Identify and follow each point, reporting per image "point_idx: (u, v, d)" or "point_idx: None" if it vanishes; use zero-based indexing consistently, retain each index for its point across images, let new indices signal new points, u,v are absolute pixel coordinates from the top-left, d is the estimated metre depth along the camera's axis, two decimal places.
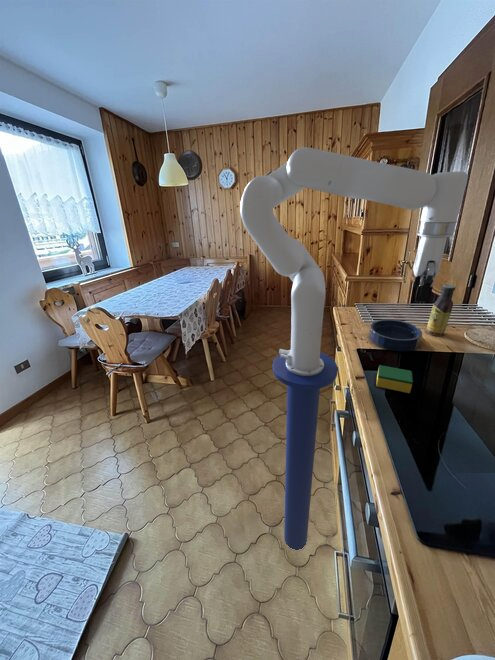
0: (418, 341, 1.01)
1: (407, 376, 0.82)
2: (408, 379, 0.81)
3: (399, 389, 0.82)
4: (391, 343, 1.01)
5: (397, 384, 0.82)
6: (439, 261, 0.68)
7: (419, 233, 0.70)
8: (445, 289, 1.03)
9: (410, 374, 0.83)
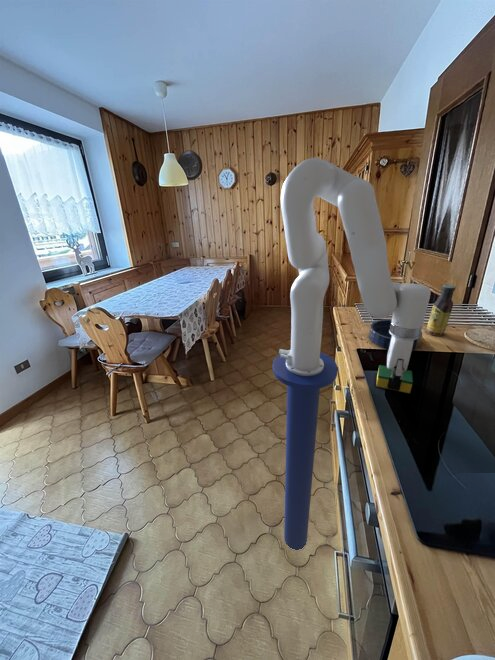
0: (418, 341, 1.01)
1: (407, 376, 0.82)
2: (408, 379, 0.81)
3: None
4: None
5: None
6: (407, 360, 0.76)
7: (390, 332, 0.78)
8: (445, 289, 1.03)
9: (410, 374, 0.83)
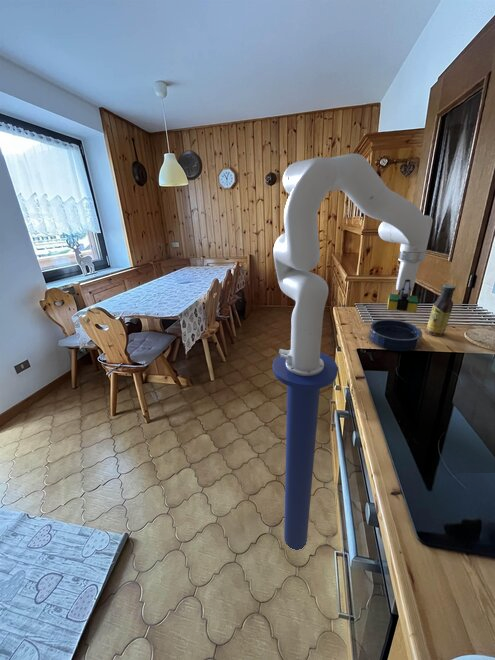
0: (418, 341, 1.01)
1: (413, 299, 0.98)
2: (414, 300, 0.97)
3: (407, 310, 0.98)
4: (391, 343, 1.01)
5: None
6: (413, 280, 0.92)
7: (399, 258, 0.94)
8: (445, 289, 1.03)
9: (416, 297, 0.99)
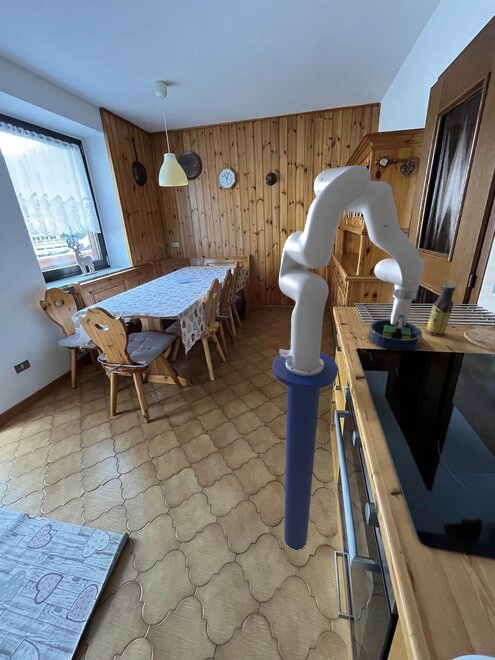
0: (418, 341, 1.01)
1: (407, 331, 1.05)
2: (407, 333, 1.04)
3: None
4: (391, 343, 1.01)
5: None
6: (406, 316, 0.99)
7: (393, 295, 1.01)
8: (445, 289, 1.03)
9: (409, 330, 1.06)
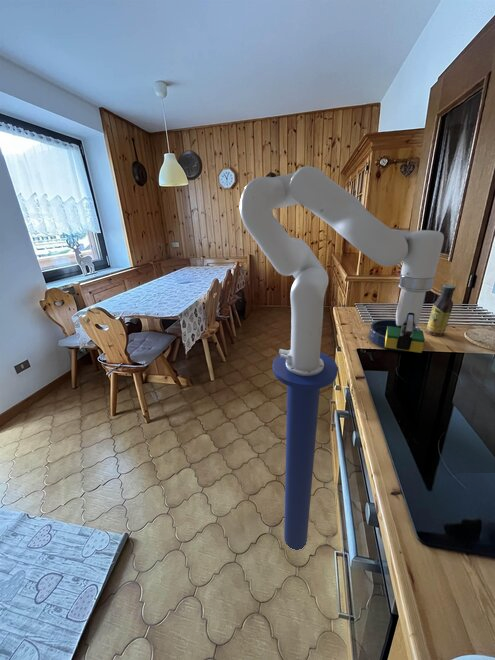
0: None
1: (418, 335, 0.77)
2: (419, 337, 0.76)
3: (410, 349, 0.77)
4: None
5: None
6: (418, 314, 0.71)
7: (400, 285, 0.73)
8: (445, 289, 1.03)
9: (421, 333, 0.78)
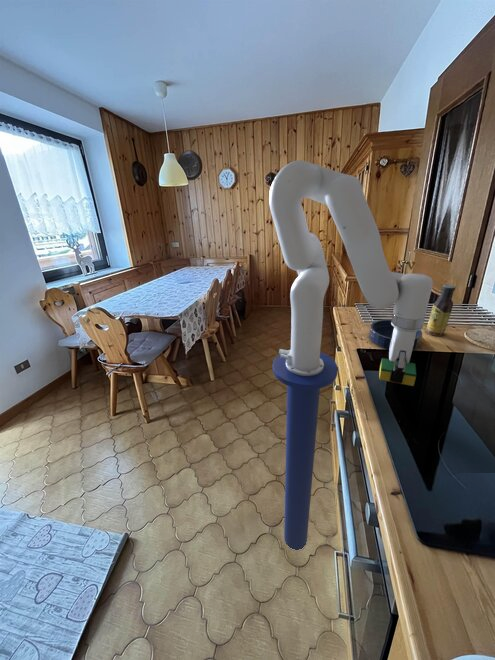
0: (418, 341, 1.01)
1: (410, 369, 0.81)
2: (411, 372, 0.80)
3: (402, 382, 0.81)
4: None
5: None
6: (410, 351, 0.75)
7: (392, 323, 0.77)
8: (445, 289, 1.03)
9: (413, 367, 0.82)
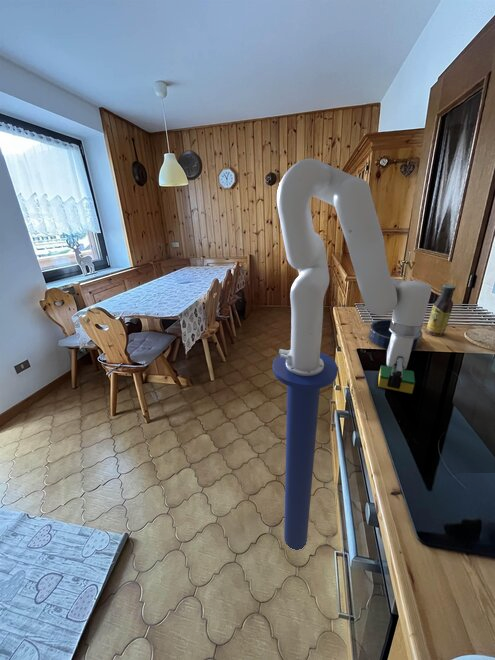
0: (418, 341, 1.01)
1: (409, 376, 0.82)
2: (410, 379, 0.81)
3: (401, 389, 0.82)
4: None
5: None
6: (407, 357, 0.76)
7: (390, 329, 0.78)
8: (445, 289, 1.03)
9: (412, 374, 0.83)
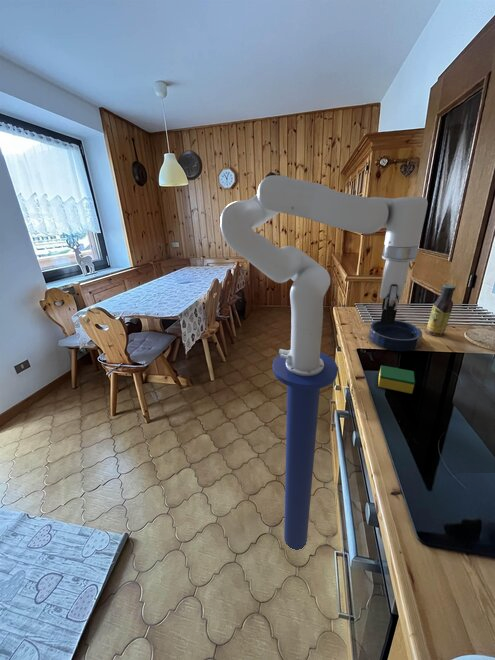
0: (418, 341, 1.01)
1: (409, 376, 0.82)
2: (410, 379, 0.81)
3: (401, 389, 0.82)
4: (391, 343, 1.01)
5: (399, 385, 0.82)
6: (402, 285, 0.68)
7: (383, 256, 0.70)
8: (445, 289, 1.03)
9: (412, 374, 0.83)
